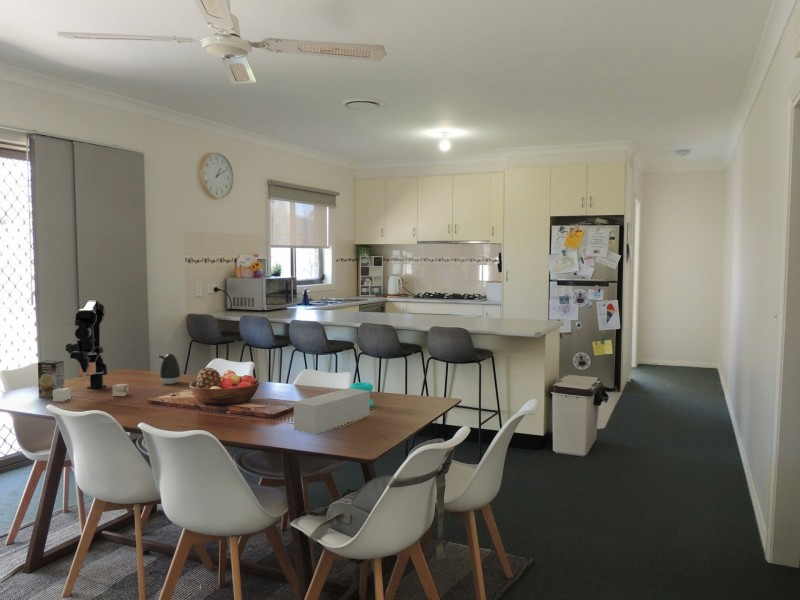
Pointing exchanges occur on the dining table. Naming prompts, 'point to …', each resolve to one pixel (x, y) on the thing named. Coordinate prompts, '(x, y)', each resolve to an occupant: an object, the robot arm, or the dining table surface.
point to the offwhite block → (61, 394)
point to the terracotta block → (88, 369)
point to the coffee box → (50, 377)
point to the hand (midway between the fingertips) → (87, 371)
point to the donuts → (363, 388)
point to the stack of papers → (330, 410)
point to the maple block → (120, 389)
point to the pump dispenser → (169, 369)
